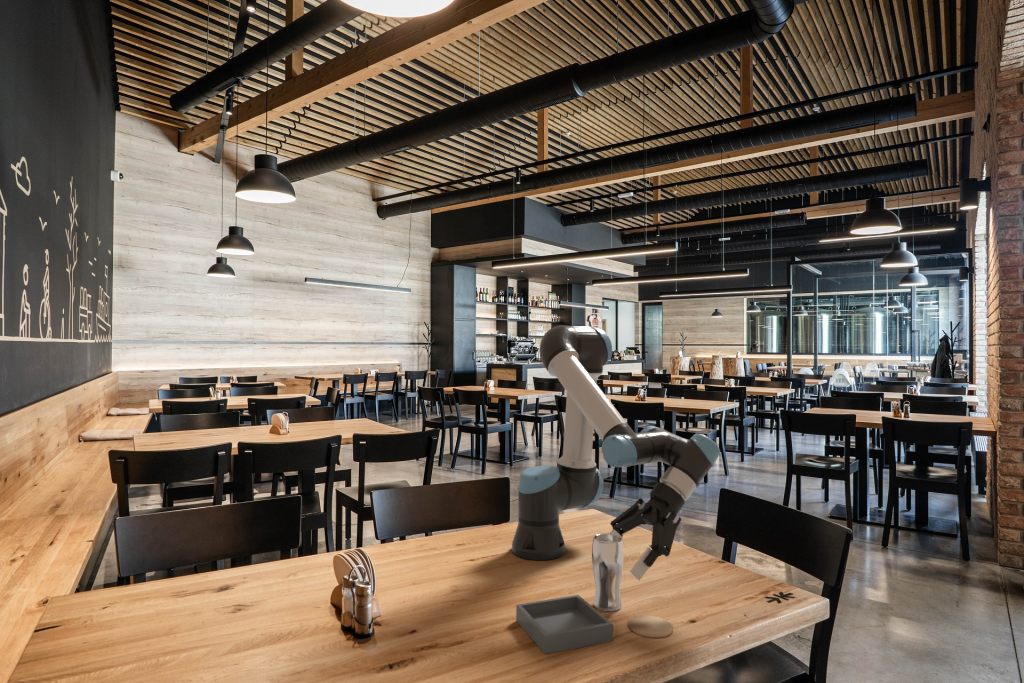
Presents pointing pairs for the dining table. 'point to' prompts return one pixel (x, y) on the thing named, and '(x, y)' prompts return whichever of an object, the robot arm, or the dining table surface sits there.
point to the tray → (563, 623)
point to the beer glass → (607, 570)
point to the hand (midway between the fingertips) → (617, 565)
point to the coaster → (650, 626)
